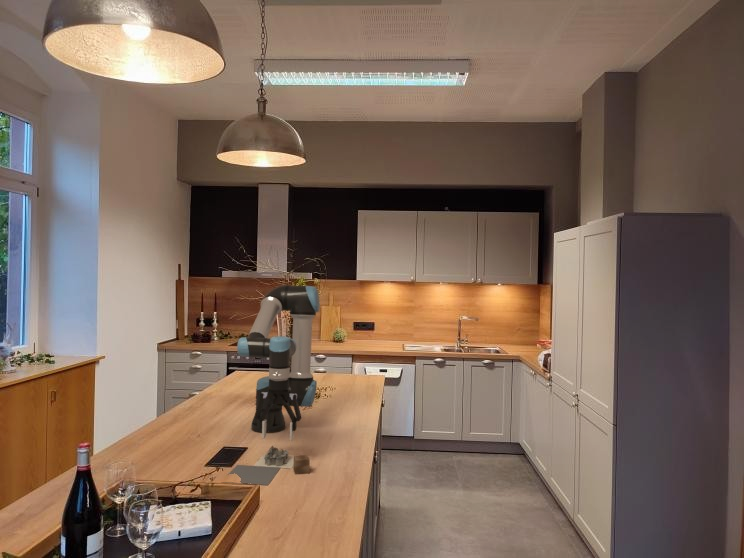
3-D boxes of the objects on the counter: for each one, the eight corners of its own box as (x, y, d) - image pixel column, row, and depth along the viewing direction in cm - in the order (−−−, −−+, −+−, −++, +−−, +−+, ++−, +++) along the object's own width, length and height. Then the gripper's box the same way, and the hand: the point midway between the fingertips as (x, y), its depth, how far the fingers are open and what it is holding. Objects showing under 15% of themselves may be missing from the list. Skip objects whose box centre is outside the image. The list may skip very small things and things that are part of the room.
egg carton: (271, 455, 201) (272, 445, 201) (290, 457, 200) (291, 446, 200) (261, 465, 191) (262, 453, 191) (281, 466, 190) (282, 455, 190)
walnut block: (294, 474, 184) (295, 460, 184) (293, 469, 188) (293, 455, 188) (309, 473, 185) (309, 459, 185) (307, 468, 190) (307, 454, 190)
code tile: (253, 466, 190) (253, 465, 190) (263, 455, 202) (263, 454, 202) (291, 468, 189) (291, 468, 189) (299, 457, 201) (299, 456, 201)
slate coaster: (220, 482, 175) (220, 481, 175) (237, 465, 191) (237, 464, 191) (267, 485, 173) (267, 484, 173) (280, 467, 189) (280, 467, 189)
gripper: (246, 379, 193) (245, 440, 193) (306, 382, 191) (305, 443, 191) (252, 375, 200) (251, 433, 201) (310, 378, 198) (309, 436, 199)
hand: (277, 438), depth 196 cm, fingers open, 10 cm apart
